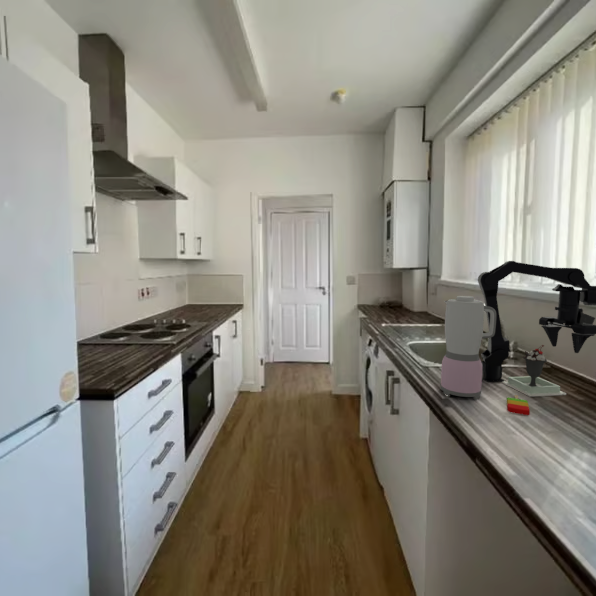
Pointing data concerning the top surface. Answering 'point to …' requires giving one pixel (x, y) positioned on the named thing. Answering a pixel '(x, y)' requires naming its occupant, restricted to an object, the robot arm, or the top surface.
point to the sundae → (534, 364)
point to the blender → (464, 346)
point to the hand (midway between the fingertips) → (565, 349)
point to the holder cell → (540, 390)
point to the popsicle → (518, 405)
